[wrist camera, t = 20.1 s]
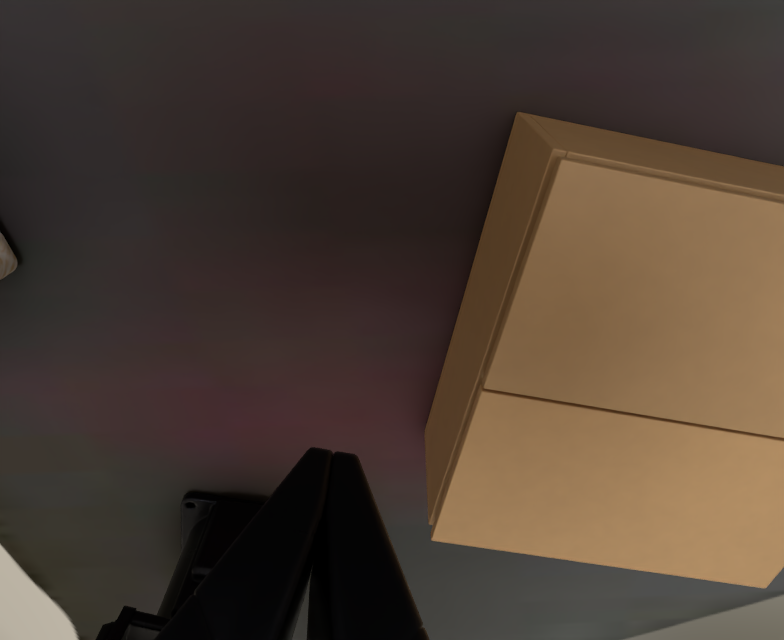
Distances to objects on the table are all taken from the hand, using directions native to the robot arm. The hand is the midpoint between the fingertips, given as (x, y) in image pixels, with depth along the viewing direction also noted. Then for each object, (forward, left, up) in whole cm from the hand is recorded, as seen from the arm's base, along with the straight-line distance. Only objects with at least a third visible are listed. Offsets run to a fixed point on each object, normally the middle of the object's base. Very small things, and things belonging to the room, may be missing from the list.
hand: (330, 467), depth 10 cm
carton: (-3, -11, -13) cm, 17 cm away
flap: (-6, -11, -7) cm, 15 cm away
